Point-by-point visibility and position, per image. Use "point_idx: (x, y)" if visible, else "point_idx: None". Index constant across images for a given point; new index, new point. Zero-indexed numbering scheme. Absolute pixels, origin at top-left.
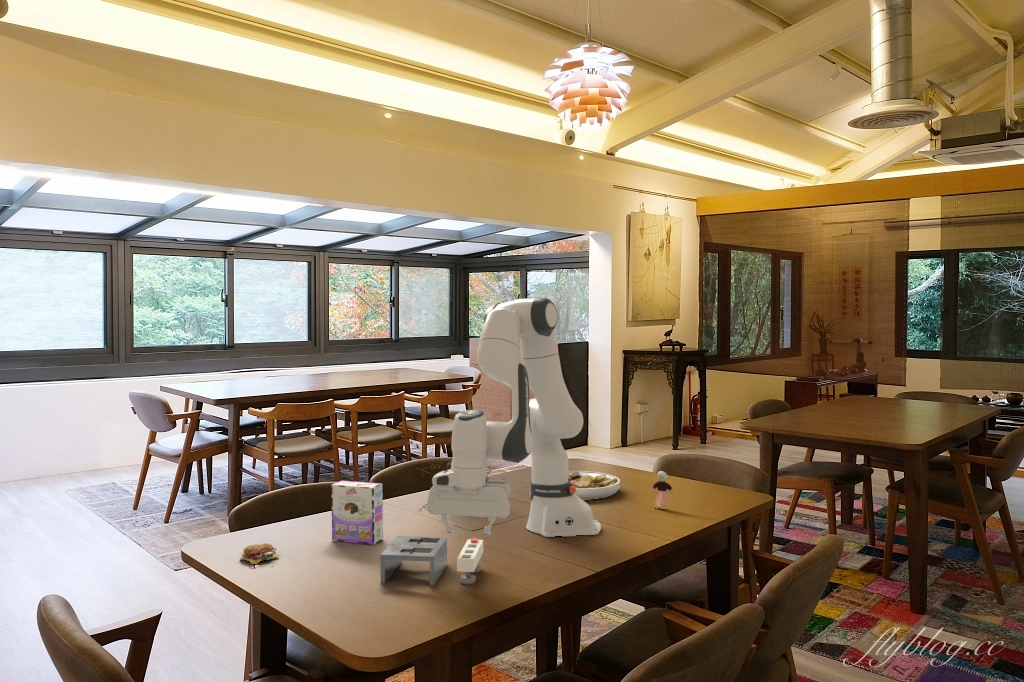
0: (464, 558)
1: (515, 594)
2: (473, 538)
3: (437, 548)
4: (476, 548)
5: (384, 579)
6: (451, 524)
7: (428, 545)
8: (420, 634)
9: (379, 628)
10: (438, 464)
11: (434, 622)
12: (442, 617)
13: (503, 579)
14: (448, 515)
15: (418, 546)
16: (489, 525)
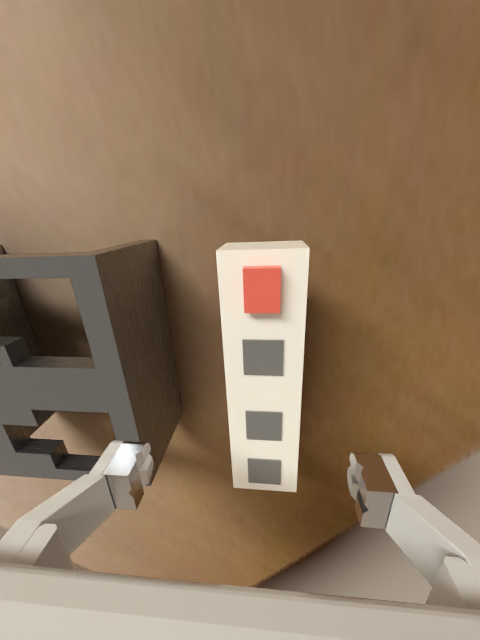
0: (260, 486)
1: (408, 449)
2: (252, 277)
3: (125, 415)
4: (289, 387)
5: (51, 414)
6: (118, 477)
7: (72, 383)
8: (231, 576)
9: (160, 561)
10: None
11: (241, 550)
12: (250, 536)
13: (376, 356)
14: (50, 547)
15: (41, 397)
16: (413, 556)
